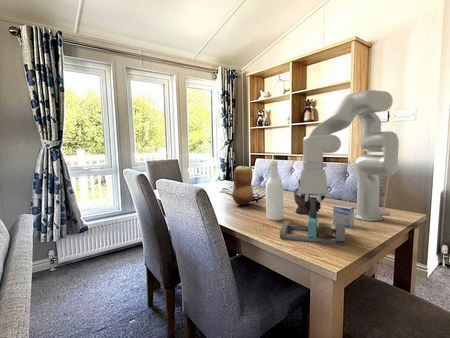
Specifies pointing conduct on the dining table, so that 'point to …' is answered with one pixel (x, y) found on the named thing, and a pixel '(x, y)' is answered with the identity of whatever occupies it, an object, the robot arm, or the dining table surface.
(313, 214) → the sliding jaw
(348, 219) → the medicine box
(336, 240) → the vise bed
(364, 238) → the dining table surface
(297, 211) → the brown bust statue
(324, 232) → the walnut block
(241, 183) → the butternut squash
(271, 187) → the alcohol
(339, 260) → the dining table surface
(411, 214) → the dining table surface
